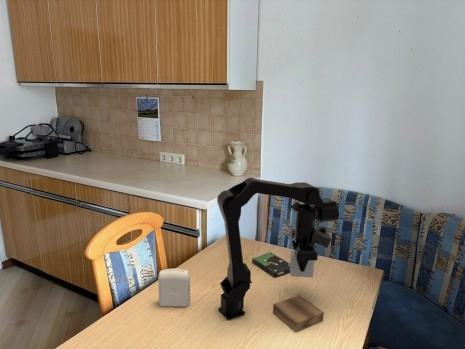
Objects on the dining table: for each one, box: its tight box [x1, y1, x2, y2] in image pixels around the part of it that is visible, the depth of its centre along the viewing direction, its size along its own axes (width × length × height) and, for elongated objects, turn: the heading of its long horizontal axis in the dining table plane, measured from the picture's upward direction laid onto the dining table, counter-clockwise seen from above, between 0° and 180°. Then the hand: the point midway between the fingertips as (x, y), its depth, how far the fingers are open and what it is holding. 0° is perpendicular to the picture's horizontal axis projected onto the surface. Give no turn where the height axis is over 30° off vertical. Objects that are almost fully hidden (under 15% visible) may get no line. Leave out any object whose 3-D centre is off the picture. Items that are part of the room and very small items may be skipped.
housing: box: [289, 249, 315, 278], centre depth 116 cm, size 7×4×7 cm, turn 87°
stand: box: [272, 294, 325, 333], centre depth 111 cm, size 11×11×3 cm
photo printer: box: [157, 268, 191, 308], centre depth 115 cm, size 10×4×12 cm, turn 89°
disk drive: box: [251, 252, 290, 279], centre depth 143 cm, size 10×3×15 cm
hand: (301, 267), depth 116 cm, fingers closed on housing, 4 cm apart
